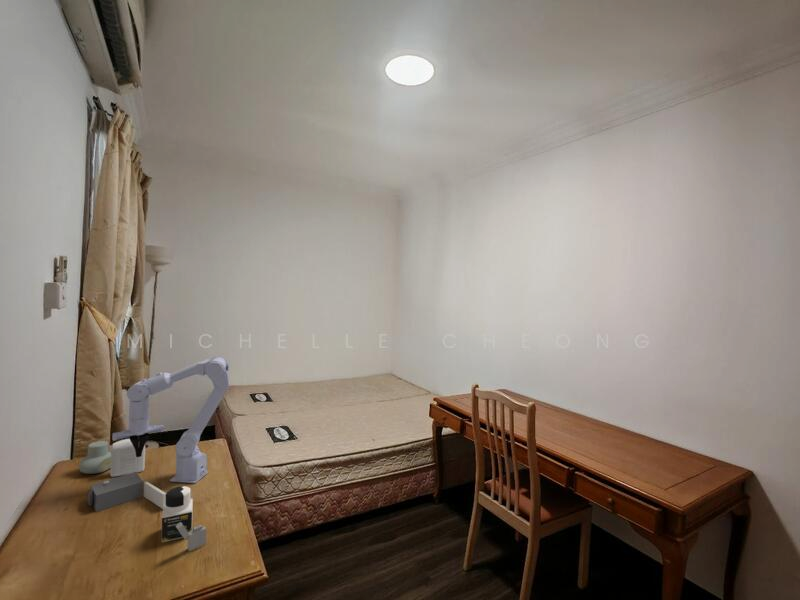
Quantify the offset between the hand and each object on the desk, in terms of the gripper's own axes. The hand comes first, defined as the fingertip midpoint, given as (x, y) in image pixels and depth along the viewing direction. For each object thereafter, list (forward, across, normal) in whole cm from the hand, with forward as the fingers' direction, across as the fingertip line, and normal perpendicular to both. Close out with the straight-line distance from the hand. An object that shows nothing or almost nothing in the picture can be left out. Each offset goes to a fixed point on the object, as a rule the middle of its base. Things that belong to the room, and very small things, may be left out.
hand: (138, 455), depth 131 cm
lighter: (+10, +7, -48) cm, 50 cm away
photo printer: (+10, -2, +11) cm, 14 cm away
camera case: (+9, -6, -8) cm, 14 cm away
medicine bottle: (+10, +6, -38) cm, 40 cm away
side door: (+9, +3, -18) cm, 20 cm away
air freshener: (+10, -11, +19) cm, 24 cm away
